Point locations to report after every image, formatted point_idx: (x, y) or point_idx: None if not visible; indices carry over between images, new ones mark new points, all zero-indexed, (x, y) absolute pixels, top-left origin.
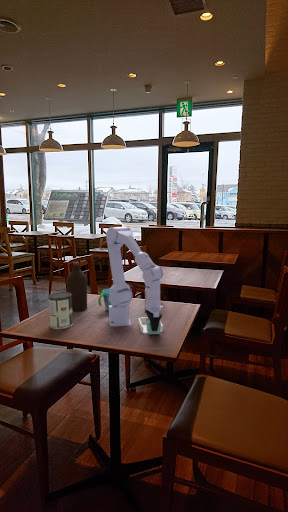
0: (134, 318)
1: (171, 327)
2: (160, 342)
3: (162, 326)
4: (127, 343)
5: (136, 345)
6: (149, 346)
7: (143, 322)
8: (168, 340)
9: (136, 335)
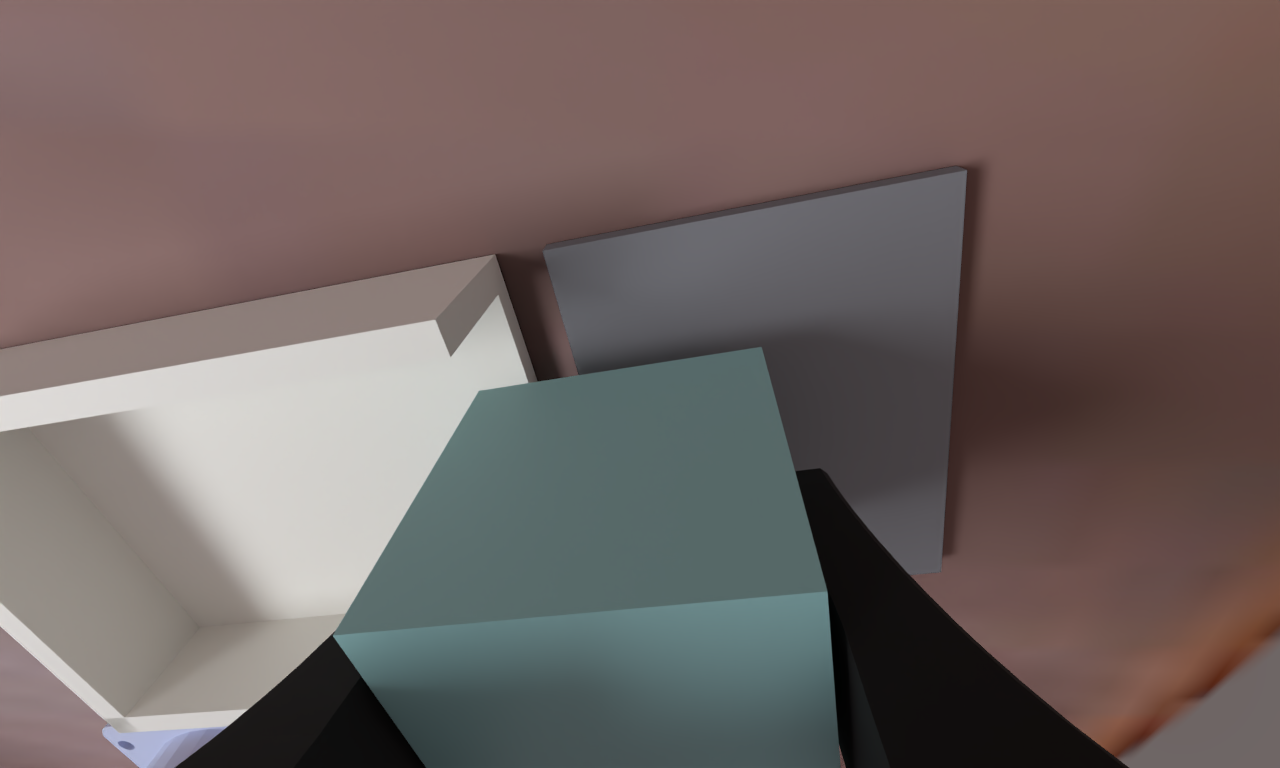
0: (8, 664)
1: (83, 21)
2: (1027, 317)
3: (448, 329)
4: None
5: (1031, 644)
6: (1144, 497)
7: (152, 594)
8: (963, 132)
9: None
